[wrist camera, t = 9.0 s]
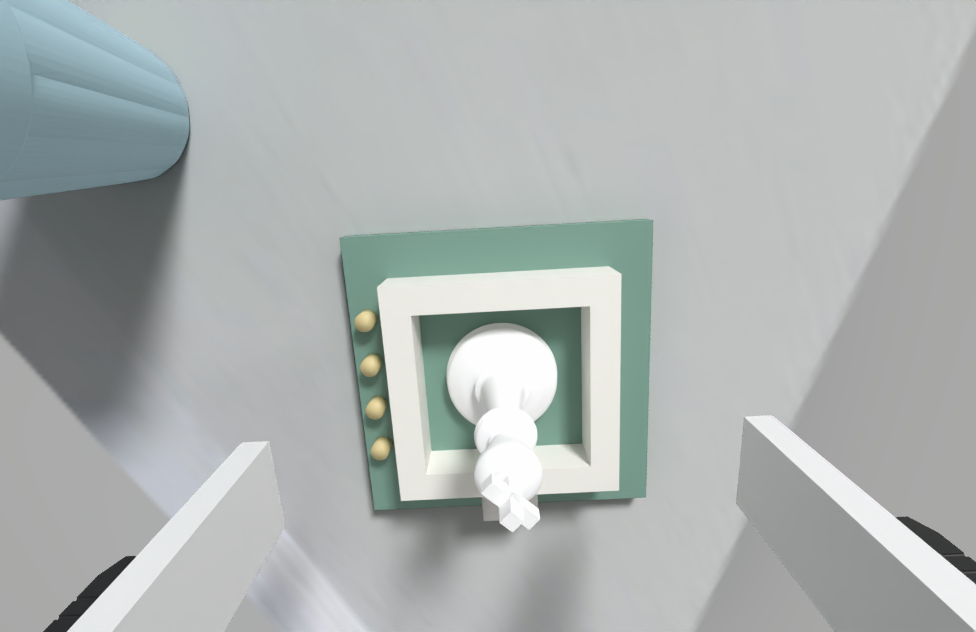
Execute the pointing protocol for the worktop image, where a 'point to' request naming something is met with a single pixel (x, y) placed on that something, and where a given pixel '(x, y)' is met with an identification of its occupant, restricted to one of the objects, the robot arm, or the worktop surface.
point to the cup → (81, 103)
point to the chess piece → (504, 412)
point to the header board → (503, 299)
